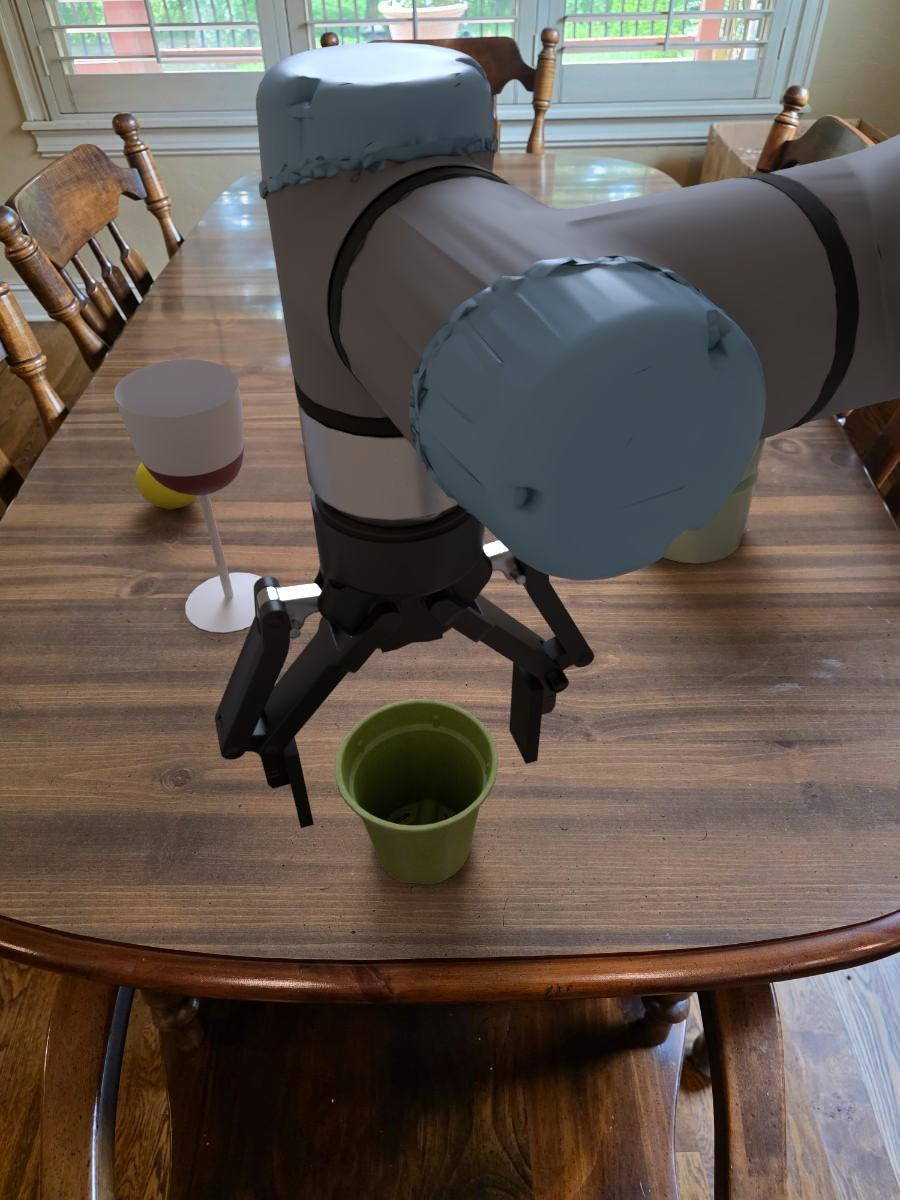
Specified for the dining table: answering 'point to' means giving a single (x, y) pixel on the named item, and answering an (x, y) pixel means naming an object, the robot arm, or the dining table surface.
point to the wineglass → (193, 462)
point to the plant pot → (418, 784)
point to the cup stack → (720, 523)
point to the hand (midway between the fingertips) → (416, 775)
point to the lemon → (160, 491)
